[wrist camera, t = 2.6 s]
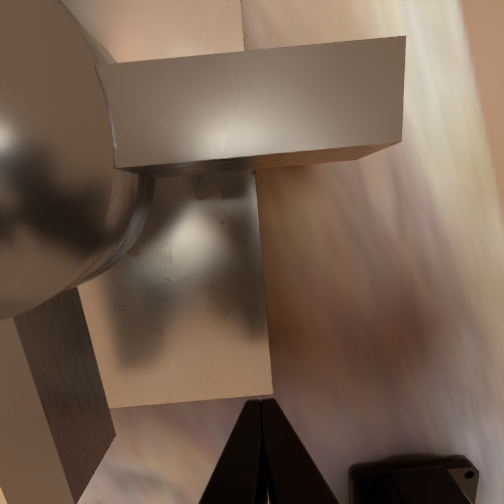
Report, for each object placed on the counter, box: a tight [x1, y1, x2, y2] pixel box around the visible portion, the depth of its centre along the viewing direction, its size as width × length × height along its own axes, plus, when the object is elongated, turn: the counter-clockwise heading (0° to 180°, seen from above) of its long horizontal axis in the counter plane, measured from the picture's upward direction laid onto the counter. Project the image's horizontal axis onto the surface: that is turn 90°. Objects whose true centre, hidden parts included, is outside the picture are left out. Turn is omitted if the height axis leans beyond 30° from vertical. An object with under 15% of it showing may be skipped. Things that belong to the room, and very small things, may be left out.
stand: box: [61, 0, 273, 408], centre depth 6 cm, size 24×12×5 cm, turn 5°
